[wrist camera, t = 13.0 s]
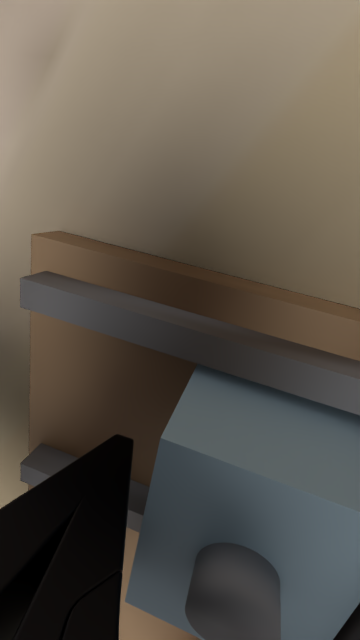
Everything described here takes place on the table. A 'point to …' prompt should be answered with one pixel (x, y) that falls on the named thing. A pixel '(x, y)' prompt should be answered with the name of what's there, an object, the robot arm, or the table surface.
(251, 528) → the latch
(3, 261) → the table surface
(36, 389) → the board
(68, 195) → the table surface
